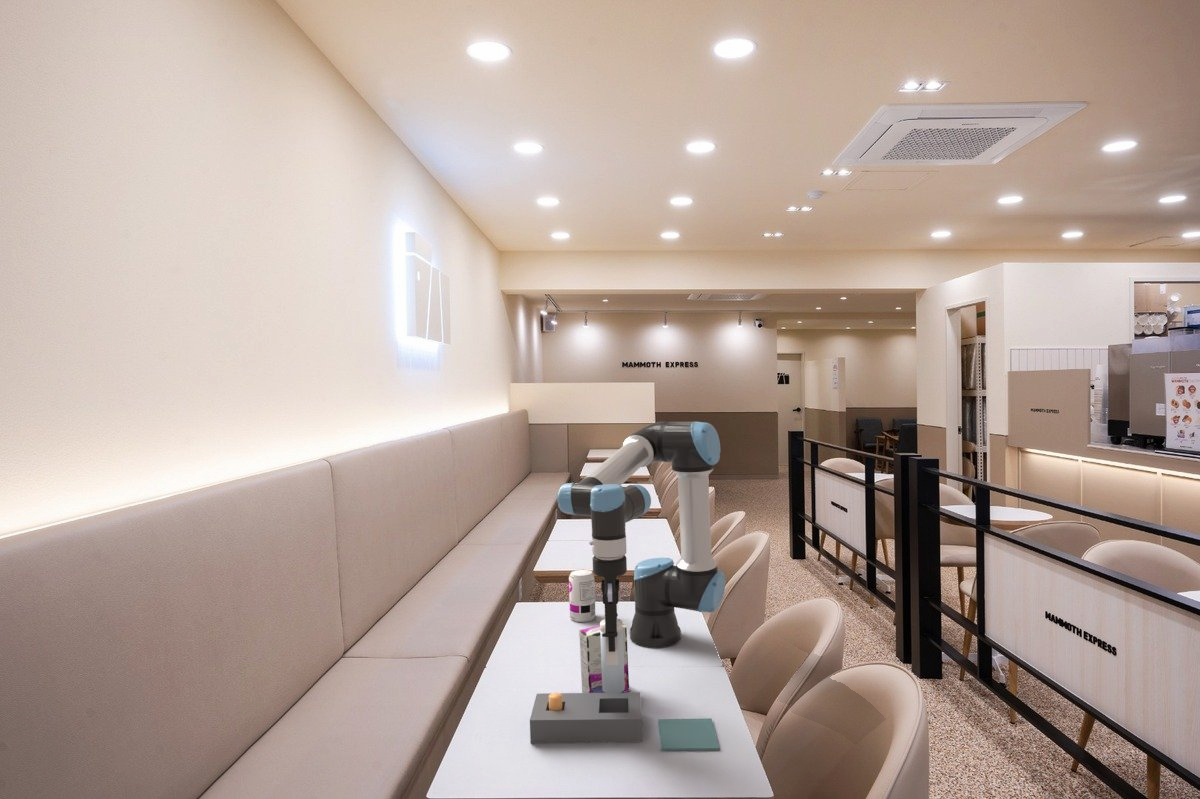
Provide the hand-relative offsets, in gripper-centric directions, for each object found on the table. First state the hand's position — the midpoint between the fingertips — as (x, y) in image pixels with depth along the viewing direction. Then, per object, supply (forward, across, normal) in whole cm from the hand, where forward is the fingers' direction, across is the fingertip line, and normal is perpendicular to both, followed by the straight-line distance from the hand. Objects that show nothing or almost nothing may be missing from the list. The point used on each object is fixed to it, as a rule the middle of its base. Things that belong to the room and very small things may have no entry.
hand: (612, 658), depth 150 cm
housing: (+16, 0, -6) cm, 17 cm away
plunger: (+14, 0, -13) cm, 19 cm away
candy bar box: (+16, -16, -2) cm, 23 cm away
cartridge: (+7, 0, 0) cm, 7 cm away
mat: (+16, +4, +16) cm, 23 cm away
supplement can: (+16, -67, -11) cm, 70 cm away
